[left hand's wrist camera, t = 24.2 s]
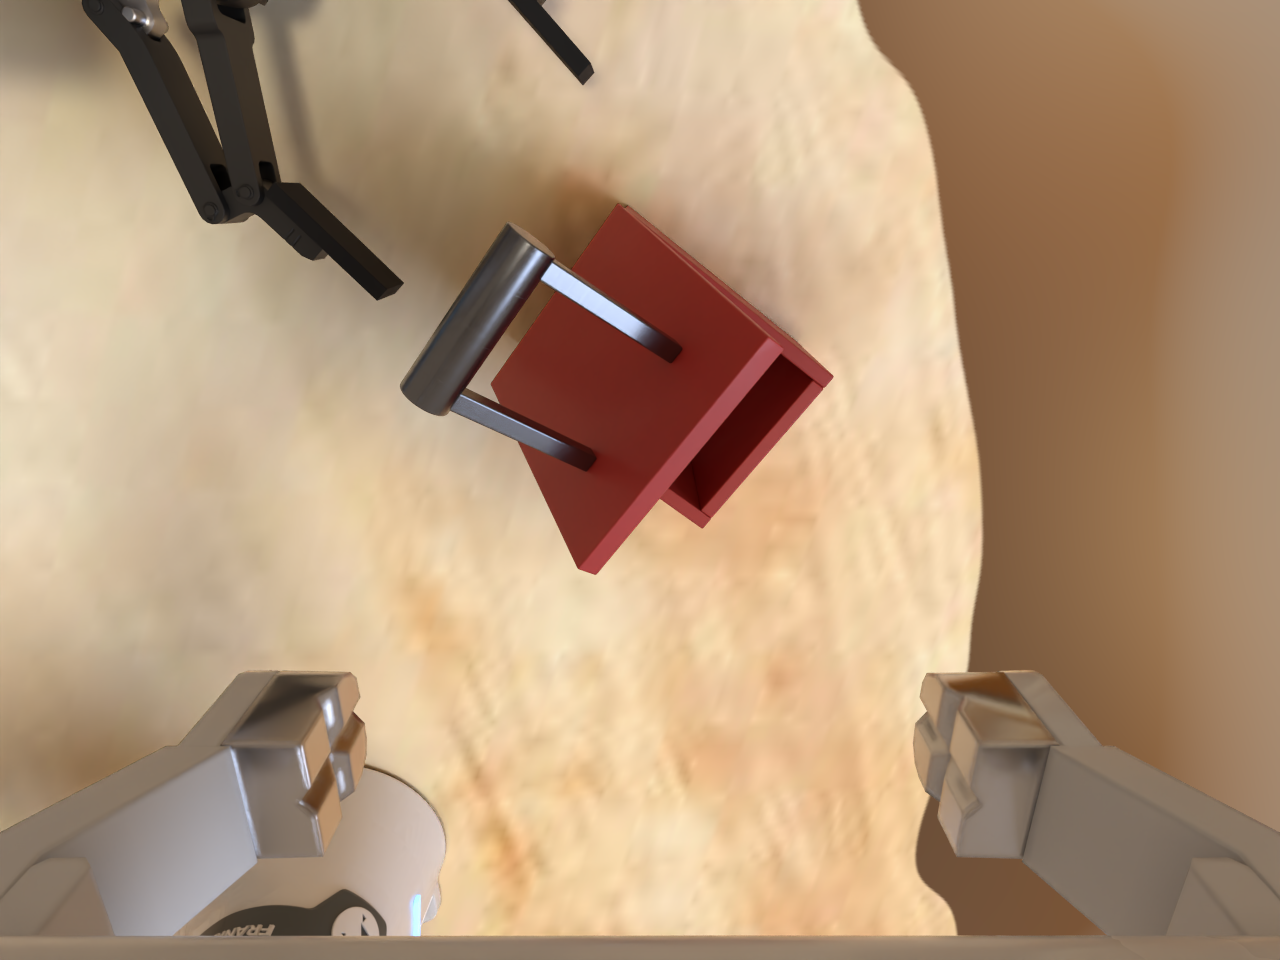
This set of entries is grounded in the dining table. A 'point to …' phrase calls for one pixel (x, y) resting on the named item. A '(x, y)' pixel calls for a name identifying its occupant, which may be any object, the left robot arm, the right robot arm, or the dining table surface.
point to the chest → (744, 414)
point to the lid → (596, 372)
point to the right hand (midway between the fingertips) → (484, 189)
